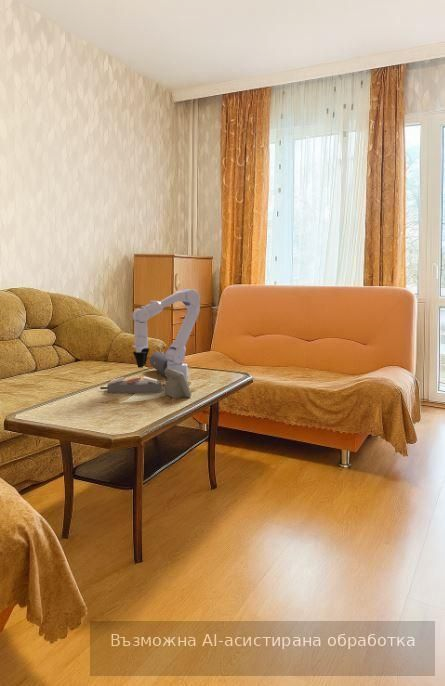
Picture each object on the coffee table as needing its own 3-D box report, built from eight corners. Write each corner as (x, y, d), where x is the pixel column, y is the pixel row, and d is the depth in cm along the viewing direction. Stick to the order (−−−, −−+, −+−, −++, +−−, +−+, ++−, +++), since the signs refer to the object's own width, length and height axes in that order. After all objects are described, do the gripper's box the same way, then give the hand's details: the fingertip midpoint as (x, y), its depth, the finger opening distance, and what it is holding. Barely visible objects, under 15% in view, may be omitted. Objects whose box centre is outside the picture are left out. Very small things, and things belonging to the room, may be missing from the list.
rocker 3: (157, 381, 226) (157, 379, 225) (156, 383, 223) (157, 380, 223) (143, 378, 225) (144, 376, 225) (142, 379, 223) (143, 377, 223)
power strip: (161, 388, 230) (161, 379, 230) (158, 392, 222) (158, 383, 222) (102, 388, 231) (102, 379, 230) (98, 392, 223) (98, 383, 222)
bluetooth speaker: (148, 370, 270) (148, 351, 269) (166, 369, 274) (165, 350, 273) (161, 379, 250) (160, 358, 248) (179, 377, 253) (179, 357, 252)
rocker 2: (141, 378, 225) (140, 376, 225) (140, 379, 223) (139, 377, 223) (128, 382, 226) (127, 379, 226) (126, 383, 223) (126, 381, 223)
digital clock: (192, 398, 212) (192, 372, 211) (171, 400, 209) (170, 374, 208) (182, 389, 227) (181, 366, 226) (162, 391, 224) (161, 367, 223)
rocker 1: (125, 378, 226) (124, 376, 225) (124, 379, 223) (123, 377, 223) (112, 382, 226) (111, 379, 226) (110, 383, 223) (109, 381, 223)
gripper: (135, 333, 238) (136, 362, 240) (128, 338, 224) (129, 369, 226) (150, 333, 238) (151, 362, 240) (145, 337, 224) (146, 368, 226)
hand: (141, 365), depth 233 cm, fingers open, 7 cm apart
